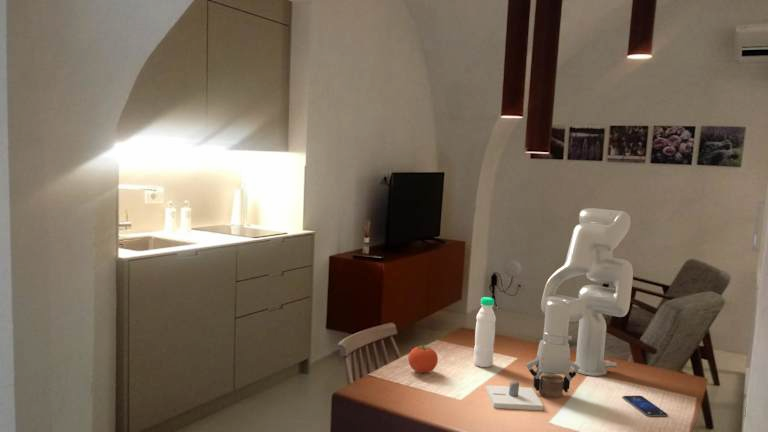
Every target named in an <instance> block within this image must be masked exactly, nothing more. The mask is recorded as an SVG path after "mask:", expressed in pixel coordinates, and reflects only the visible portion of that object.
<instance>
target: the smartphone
mask: <svg viewBox="0 0 768 432" xmlns="http://www.w3.org/2000/svg"><path fill="white" fill-rule="evenodd" d="M621 398H622V399H623V401H625V402H626V403H628V404H629V405H631V407H633V408H635V409H636V410H637V411H639V412H640V413H641V414H643V416H645V417H647V418H658V417H659V418H668V417H669V416H668V415H669V414H668V413H667V412H665V411H664V410H662V409H661V408H660V407H658V406H657V405H655V404H654V403H653V402H651V401H650V400H648V399H647V398H645V397H644V396H642V395H622V397H621Z"/></svg>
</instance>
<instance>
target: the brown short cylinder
mask: <svg viewBox="0 0 768 432" xmlns="http://www.w3.org/2000/svg"><path fill="white" fill-rule="evenodd" d="M563 378H564V377H563V376H561V375H560V374H549V373H542V375H541V376H540V377H539V379H540V387H539V391H538V393H539V394H540V396H542V397H545V398H546V399H553V400H559V399H560V398H562V397H563V394H564V393H563V392H564V390H563V383H564V382H563Z"/></svg>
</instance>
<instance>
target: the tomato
mask: <svg viewBox="0 0 768 432" xmlns="http://www.w3.org/2000/svg"><path fill="white" fill-rule="evenodd" d="M438 359H439V358H438V355H437V353H436V351H435V350H434V349H433V348H432V347H430V346H427V345H425V344H423V345H419V346H415V347H414V348H413V349H411V351H410V352H409V354H408V363H409V366H410V367H411V368H412V370H413V371H414V372H417V373H420V374H427V373H430V372H431V371H433V370H435V368H436V366H437V365H438V363H439V362H438Z"/></svg>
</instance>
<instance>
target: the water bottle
mask: <svg viewBox="0 0 768 432" xmlns="http://www.w3.org/2000/svg"><path fill="white" fill-rule="evenodd" d="M494 304H495V299H494V298H492V297H488V296H484V297H481V298H480V306H481V307H480V309H479V310H478V312H477V314H476V317H475V319H476V323H475V331H474V334H475V335H474V344H475V345H474V346H473V347H474V348H473V349H474V350H473V358H472V360H473V361H472V362H473V365H474V366H476V367H478V366H480V367H479V368H484V367H486V368H490V366H491V367H492V366H493V363H494V345H495V337H496V321H497V317H496V314H495V312H494V309H493V307H494Z"/></svg>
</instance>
